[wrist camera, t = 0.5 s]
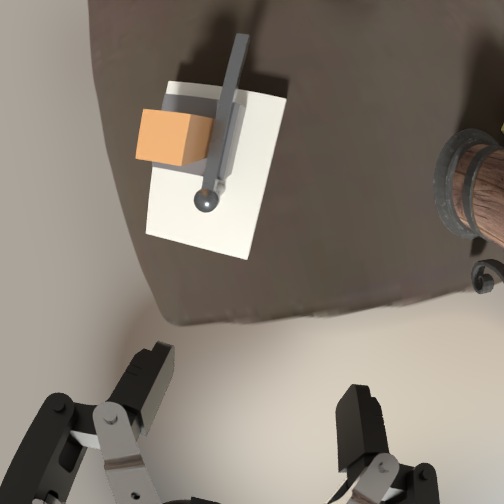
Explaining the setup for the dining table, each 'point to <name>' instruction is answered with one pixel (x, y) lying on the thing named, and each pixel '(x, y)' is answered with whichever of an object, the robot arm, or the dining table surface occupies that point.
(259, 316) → the dining table surface
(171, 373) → the robot arm
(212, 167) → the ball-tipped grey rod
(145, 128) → the plug
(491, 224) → the tankard
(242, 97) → the socket block
